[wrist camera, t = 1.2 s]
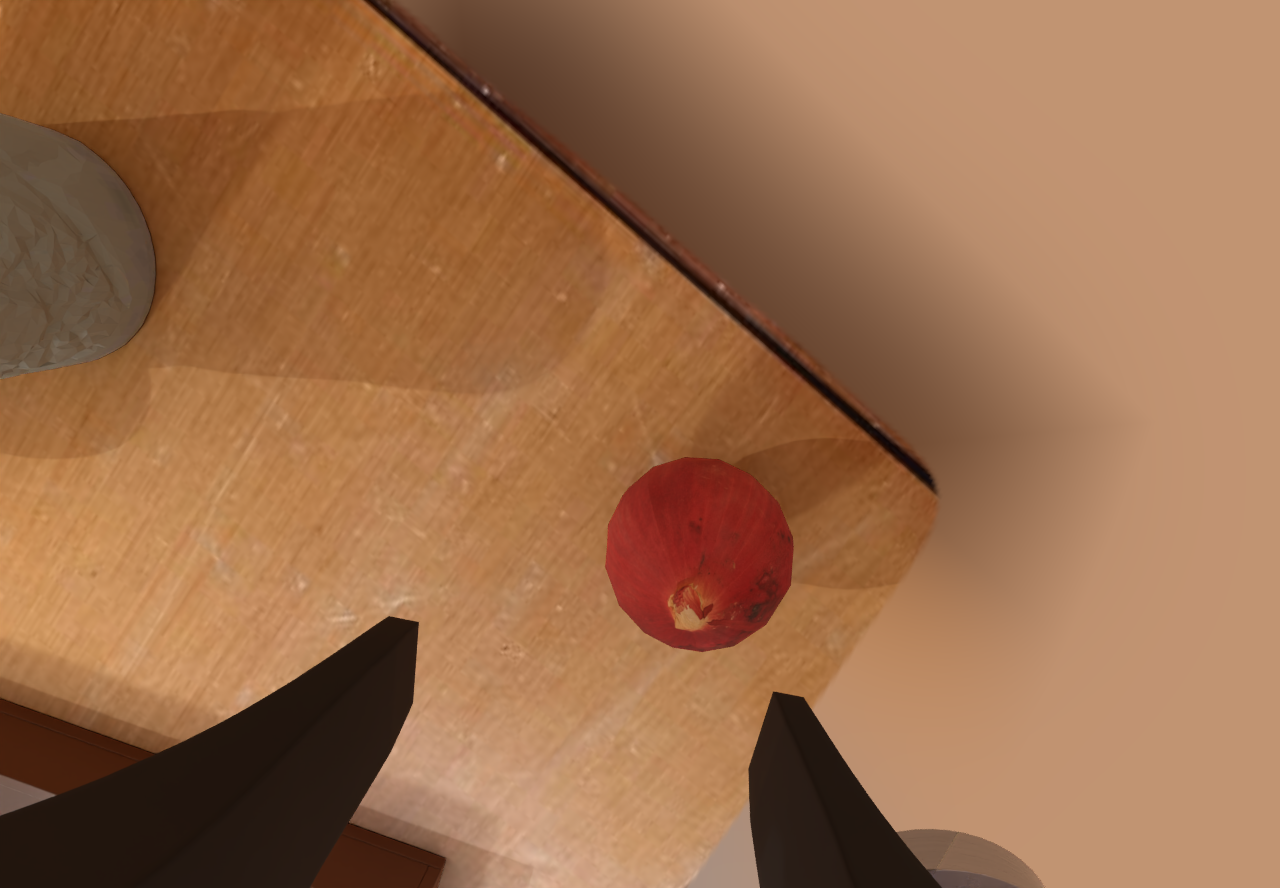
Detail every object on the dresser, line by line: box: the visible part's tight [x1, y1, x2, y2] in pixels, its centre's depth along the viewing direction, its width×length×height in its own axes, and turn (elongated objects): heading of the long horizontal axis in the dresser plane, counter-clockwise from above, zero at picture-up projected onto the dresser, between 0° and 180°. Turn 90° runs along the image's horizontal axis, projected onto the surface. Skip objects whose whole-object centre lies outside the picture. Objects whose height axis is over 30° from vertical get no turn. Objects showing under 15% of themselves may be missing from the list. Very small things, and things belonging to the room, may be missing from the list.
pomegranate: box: [605, 457, 794, 652], centre depth 19 cm, size 6×6×8 cm
